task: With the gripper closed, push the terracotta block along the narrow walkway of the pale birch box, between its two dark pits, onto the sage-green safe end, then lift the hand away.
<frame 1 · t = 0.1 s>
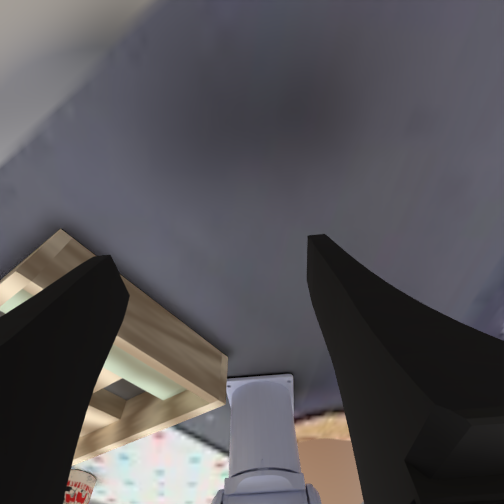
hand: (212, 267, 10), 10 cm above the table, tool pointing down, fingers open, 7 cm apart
teacup with lid: (64, 473, 49), on the table
trap box: (75, 355, 29), on the table
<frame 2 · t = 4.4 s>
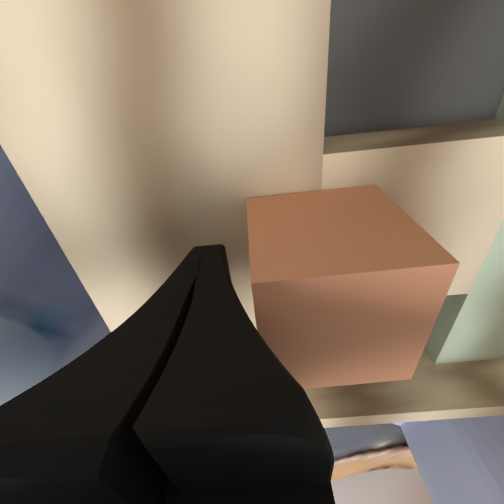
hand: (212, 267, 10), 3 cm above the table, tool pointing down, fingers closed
block: (308, 244, 11), point 3 cm above the table, touching gripper
trap box: (360, 209, 13), on the table
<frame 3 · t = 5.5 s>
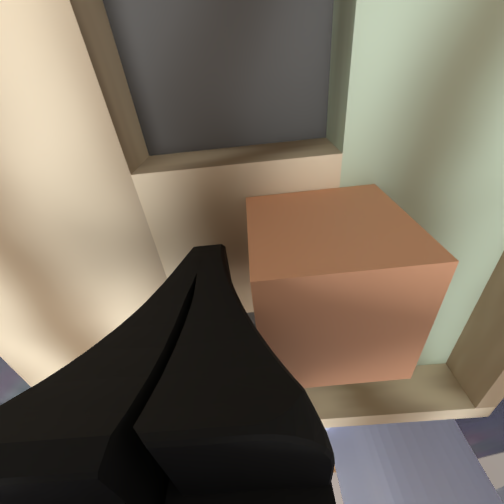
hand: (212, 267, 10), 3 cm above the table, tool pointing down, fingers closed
block: (308, 244, 11), point 3 cm above the table, touching gripper, trap box
trap box: (225, 223, 13), on the table
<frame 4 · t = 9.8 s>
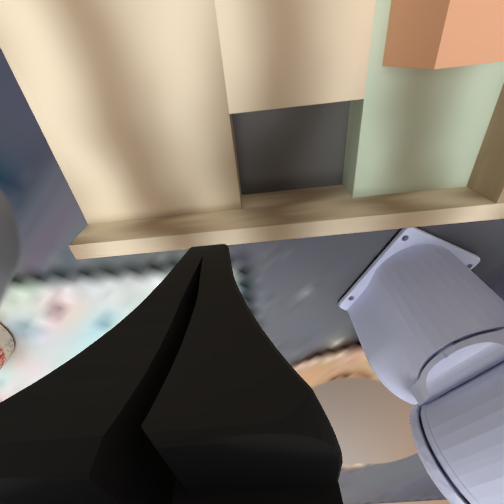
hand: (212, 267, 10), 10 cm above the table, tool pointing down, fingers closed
trap box: (269, 27, 15), on the table
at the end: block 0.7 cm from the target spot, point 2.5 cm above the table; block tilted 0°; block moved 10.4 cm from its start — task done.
